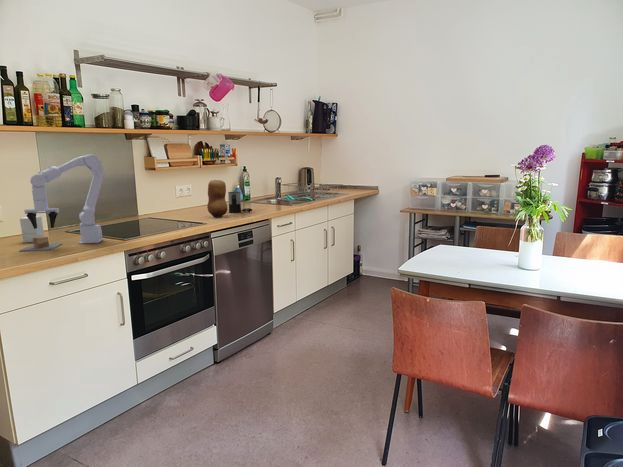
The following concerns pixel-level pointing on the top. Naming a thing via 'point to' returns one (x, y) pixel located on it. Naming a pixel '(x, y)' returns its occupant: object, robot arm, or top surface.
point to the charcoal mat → (32, 248)
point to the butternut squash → (217, 198)
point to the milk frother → (236, 203)
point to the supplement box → (31, 229)
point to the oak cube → (40, 241)
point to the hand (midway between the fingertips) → (44, 228)
